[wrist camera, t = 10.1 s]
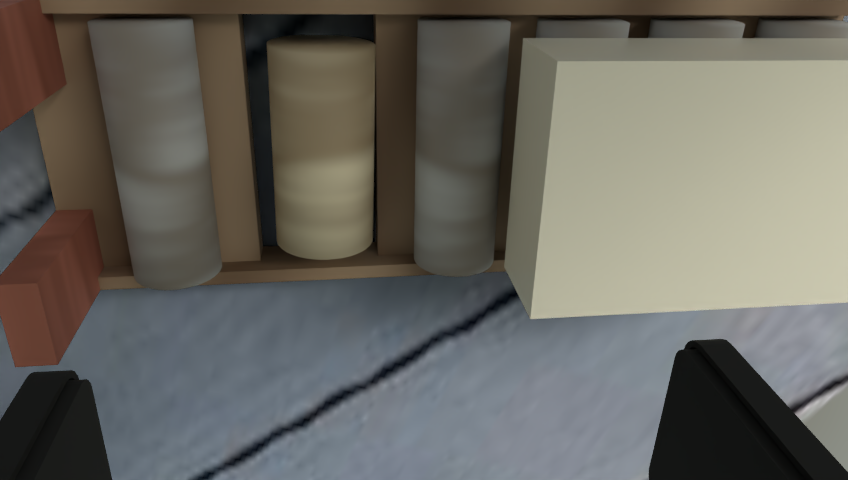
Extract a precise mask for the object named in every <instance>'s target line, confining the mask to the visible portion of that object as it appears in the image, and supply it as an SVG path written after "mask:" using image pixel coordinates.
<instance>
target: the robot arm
mask: <svg viewBox="0 0 848 480" xmlns="http://www.w3.org/2000/svg"><path fill="white" fill-rule="evenodd" d="M0 480H112V477H111V472H110V468H109V463H108V459H107V454H106V449H105V445H104V440H103V436H102V431H101V427H100V422H99V418H98V413H97V408H96V404H95V399H94V395H93V390H92V386H91V383H90V382H89V380H87V379H85V380H79V378H78V375H77V374H76V372H74V371H72V370H70V371H49V372H33V373H31V374H30V375H29V376H28V377H27V378H26V380H25V381H24V383H23V385H22V386H21V388H20V389H19V391H18V393H17V394H16V396H15V398H14V399H13V401H12V402H11V404H10V406H9V407H8V409H7V410H6V412H5V414H4V415H3V417H2V419H1V420H0ZM649 480H848V472H847V471H846V470H845V469H844V468H843V466H841V464H840V463H839V462H838V461H837V460H836V459H835V458H834V457H833V456H832V454H831V453H830V452H829V451H828V450H827V449H826V448H825V447H824V446H823V445H822V443H821V442H820V441H819V440H818V439H817V438H816V437H815V436H814V435H813V434H812V433H811V431H810V430H809V429H808V428H807V427H806V426H805V425H804V424H803V423H802V421H801V420H800V419H799V418H798V417H797V416H796V415H795V414H794V413H793V412H792V410H791V409H790V408H789V407H788V406H787V405H786V404H785V403H784V402H783V401H782V399H781V398H780V397H779V396H778V395H777V394H776V393H775V392H774V391H773V390H772V389H771V387H770V386H769V385H768V384H767V383H766V382H765V381H764V380H763V379H762V378H761V376H760V375H759V374H758V373H757V372H756V371H755V370H754V369H753V368H752V367H751V365H750V364H749V363H748V362H747V361H746V360H745V359H744V358H743V357H742V356H741V354H740V353H739V352H738V351H737V350H736V349H735V348H734V347H733V346H732V345H731V344H730V343H729V342H728V341H727V340H724V339H713V340H692V341H690V342H688V343H687V344H686V346H685V348H684V350H679V351H678V352H677V353H676V356H675V360H674V364H673V368H672V372H671V377H670V381H669V385H668V390H667V394H666V398H665V403H664V407H663V411H662V416H661V420H660V424H659V428H658V433H657V437H656V441H655V446H654V450H653V454H652V459H651V463H650V467H649Z"/></svg>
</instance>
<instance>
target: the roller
mask: <svg viewBox="0 0 848 480" xmlns="http://www.w3.org/2000/svg"><path fill="white" fill-rule="evenodd" d="M375 57H376V45H375V44H374V43H373V42H371V41H368V40H365V39H361V38H356V37H349V36H340V35H291V36H283V37H278V38H274V39H271V40H269V41H267V61H268V80H269V99H270V118H271V137H272V157H273V176H274V195H275V214H276V233H277V243H278V245H279V246H280V248H281V249H283V250H284V251H286V252H287V253H289V254H292V255H294V256H298V257H302V258H307V259H316V260H330V259H340V258H345V257H349V256H353V255H356V254H358V253H360V252H362V251H364V250H366V249H367V248H368V247H369V246H370V245H371V243H372V241H373V195H374V126H375Z"/></svg>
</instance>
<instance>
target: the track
mask: <svg viewBox="0 0 848 480" xmlns="http://www.w3.org/2000/svg"><path fill="white" fill-rule="evenodd" d="M242 14H373V33H374V44H375V45H376V57H375V126H374V130H375V226H376V242H372V243H371V245H370V246H369V247H368V248H367V249H366V250H364V251H362V252H360V253H358V254H356V255H353V256H349V257H345V258H340V259H330V260H316V259H307V258H302V257H298V256H294V255H292V254H289V253H287V252H286V251H284V250H283V249H281V248H280V246H263V240H262V229H261V217H260V206H259V195H258V184H257V173H256V162H255V150H254V139H253V128H252V117H251V106H250V94H249V83H248V72H247V61H246V50H245V38H244V27H243V16H242ZM844 16H848V0H0V132H1V131H2V130H3V129H5V128H6V127H8V126H9V125H10V124H12V123H13V122H15V121H16V120H17V119H19V118H20V117H22V116H23V115H24V114H26V113H27V112H29V111H30V110H31V109H33V112H34V116H35V120H36V125H37V129H38V133H39V138H40V142H41V147H42V151H43V155H44V160H45V164H46V168H47V173H48V177H49V182H50V186H51V190H52V195H53V199H54V203H55V208H56V211H55V212H54V213H53V214H52V216H51V217H50V218H49V219H48V220H47V221H46V223H45V224H44V225H43V226H42V227H41V228H40V230H39V231H38V232H37V233H36V234H35V235H34V237H33V238H32V239H31V240H30V241H29V242H28V244H27V245H26V246H25V247H24V248H23V249H22V251H21V252H20V253H19V254H18V255H17V256H16V258H15V259H14V260H13V261H12V262H11V263H10V265H9V266H8V267H7V268H6V269H5V270H4V272H3V273H2V274H1V275H0V316H1V319H2V323H3V326H4V330H5V333H6V337H7V340H8V344H9V347H10V351H11V354H12V357H13V361H14V364H15V367H26V366H43V365H58V364H59V362H60V360H61V358H62V356H63V355H64V353H65V351H66V349H67V348H68V346H69V344H70V342H71V341H72V339H73V337H74V335H75V334H76V332H77V330H78V328H79V327H80V325H81V323H82V321H83V320H84V318H85V316H86V314H87V313H88V311H89V309H90V307H91V305H92V304H93V302H94V300H95V298H96V297H97V295H98V293H99V291H100V290H109V289H131V288H151V289H156V290H178V289H184V288H189V287H193V286H197V285H219V284H241V283H263V282H285V281H307V280H329V279H351V278H373V277H395V276H417V275H442V276H450V277H463V276H471V275H476V274H479V273H482V272H504V271H506V270H505V268H504V263H505V251H506V239H507V227H508V215H509V203H510V191H511V179H512V167H513V155H514V143H515V131H516V119H517V107H518V95H519V83H520V71H521V59H522V47H523V38H848V22H845V21H843V18H844Z"/></svg>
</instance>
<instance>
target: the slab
mask: <svg viewBox="0 0 848 480" xmlns="http://www.w3.org/2000/svg"><path fill="white" fill-rule="evenodd" d="M504 268H505V270H506V272H507V274H508V276H509V278H510V280H511V282H512V284H513V286H514V288H515V290H516V292H517V294H518V296H519V298H520V300H521V302H522V304H523V306H524V308H525V310H526V312H527V314H528V316H529V318H530V319H542V318H561V317H580V316H599V315H618V314H637V313H656V312H675V311H694V310H713V309H732V308H751V307H771V306H790V305H809V304H828V303H847V302H848V38H523V47H522V59H521V71H520V83H519V95H518V107H517V119H516V131H515V143H514V155H513V167H512V179H511V191H510V203H509V215H508V227H507V239H506V251H505V263H504Z"/></svg>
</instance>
